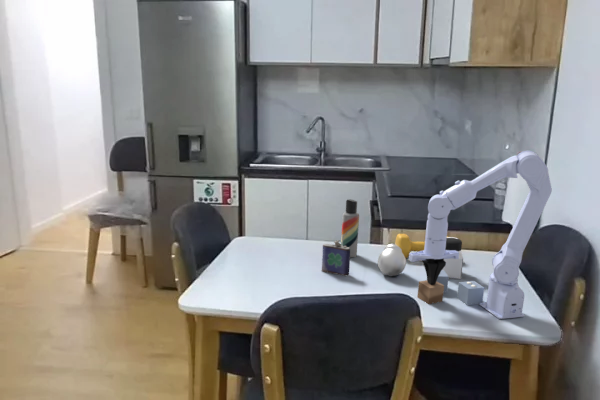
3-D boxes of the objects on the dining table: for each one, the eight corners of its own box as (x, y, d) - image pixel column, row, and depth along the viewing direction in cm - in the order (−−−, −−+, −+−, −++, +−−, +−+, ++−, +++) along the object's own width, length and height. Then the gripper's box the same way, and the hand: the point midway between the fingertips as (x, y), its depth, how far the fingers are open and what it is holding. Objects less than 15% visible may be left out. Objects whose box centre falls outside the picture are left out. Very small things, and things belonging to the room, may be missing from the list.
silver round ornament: (409, 273, 173) (412, 244, 171) (398, 282, 166) (400, 251, 163) (384, 267, 178) (386, 238, 176) (371, 275, 171) (373, 245, 168)
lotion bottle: (337, 253, 190) (340, 198, 185) (351, 251, 193) (354, 197, 188) (345, 258, 185) (348, 202, 180) (359, 256, 188) (363, 201, 183)
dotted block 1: (446, 292, 160) (448, 276, 159) (430, 291, 160) (431, 275, 159) (442, 285, 165) (444, 269, 164) (426, 285, 165) (427, 269, 164)
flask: (320, 271, 173) (322, 239, 170) (323, 268, 175) (325, 237, 173) (347, 276, 169) (349, 244, 167) (350, 273, 172) (352, 241, 169)
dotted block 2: (482, 304, 152) (484, 286, 151) (466, 305, 151) (468, 288, 150) (472, 296, 157) (474, 280, 156) (457, 298, 156) (458, 281, 155)
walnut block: (442, 301, 153) (444, 285, 152) (428, 304, 151) (430, 287, 150) (431, 295, 157) (432, 279, 156) (417, 297, 155) (418, 281, 154)
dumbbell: (397, 261, 185) (399, 238, 183) (392, 252, 194) (394, 230, 192) (452, 262, 185) (454, 240, 183) (444, 254, 194) (447, 232, 192)
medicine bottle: (461, 279, 170) (465, 243, 167) (437, 277, 171) (441, 241, 169) (459, 271, 177) (463, 236, 174) (436, 269, 178) (440, 234, 175)
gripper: (451, 232, 155) (446, 276, 159) (405, 234, 152) (401, 279, 155) (464, 239, 149) (459, 285, 152) (417, 242, 145) (413, 289, 148)
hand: (431, 283), depth 153 cm, fingers closed
